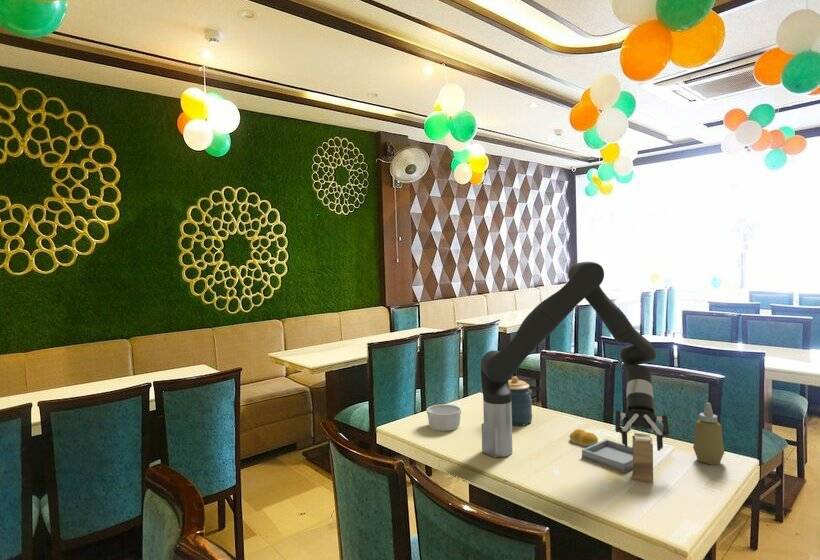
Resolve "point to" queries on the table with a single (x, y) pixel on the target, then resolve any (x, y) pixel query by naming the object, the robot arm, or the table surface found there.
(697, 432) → the squeeze bottle
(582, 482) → the table surface
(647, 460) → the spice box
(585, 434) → the bread roll
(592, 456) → the tray
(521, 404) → the canister
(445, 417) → the ramekin
